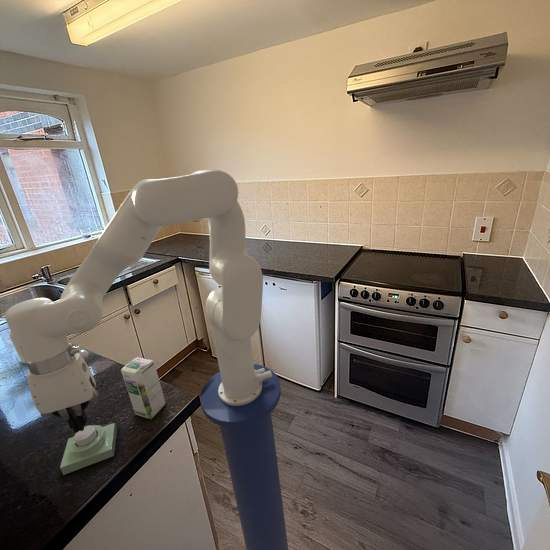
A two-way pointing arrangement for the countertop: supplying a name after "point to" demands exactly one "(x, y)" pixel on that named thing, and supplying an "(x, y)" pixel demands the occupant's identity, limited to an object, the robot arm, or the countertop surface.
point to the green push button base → (89, 449)
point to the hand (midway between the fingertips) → (80, 426)
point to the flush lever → (84, 354)
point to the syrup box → (143, 387)
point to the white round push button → (85, 436)
